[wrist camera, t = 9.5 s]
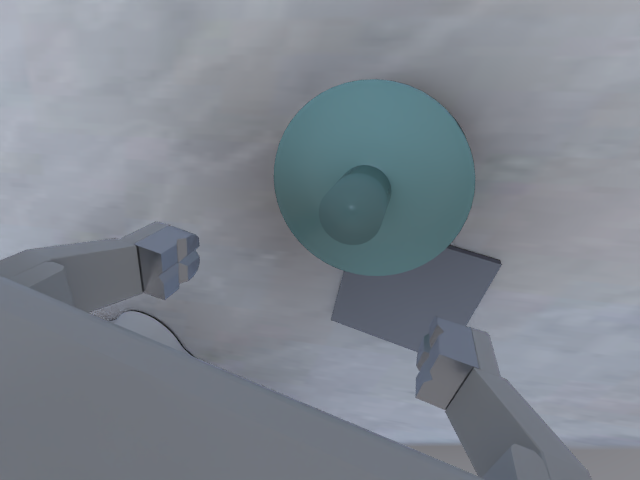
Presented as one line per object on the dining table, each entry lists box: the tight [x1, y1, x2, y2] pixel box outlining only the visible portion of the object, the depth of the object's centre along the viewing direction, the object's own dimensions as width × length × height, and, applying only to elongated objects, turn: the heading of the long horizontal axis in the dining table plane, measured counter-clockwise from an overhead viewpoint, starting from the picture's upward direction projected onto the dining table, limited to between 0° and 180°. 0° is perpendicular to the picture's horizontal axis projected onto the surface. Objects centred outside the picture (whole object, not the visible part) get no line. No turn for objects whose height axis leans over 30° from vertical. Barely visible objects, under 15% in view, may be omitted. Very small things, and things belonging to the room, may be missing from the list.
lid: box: [274, 79, 475, 276], centre depth 17 cm, size 12×12×5 cm
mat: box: [331, 245, 502, 352], centre depth 34 cm, size 14×14×1 cm
